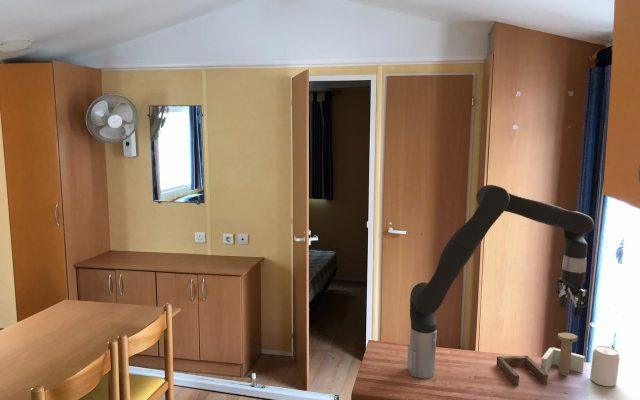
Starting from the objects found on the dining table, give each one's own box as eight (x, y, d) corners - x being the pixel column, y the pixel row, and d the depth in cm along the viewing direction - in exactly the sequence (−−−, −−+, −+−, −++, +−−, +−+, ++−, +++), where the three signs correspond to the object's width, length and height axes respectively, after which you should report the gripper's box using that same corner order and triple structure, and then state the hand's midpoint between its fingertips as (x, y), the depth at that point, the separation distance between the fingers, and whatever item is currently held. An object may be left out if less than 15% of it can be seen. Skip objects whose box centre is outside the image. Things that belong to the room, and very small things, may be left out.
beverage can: (618, 381, 173) (622, 350, 171) (613, 390, 168) (616, 358, 166) (593, 373, 179) (596, 342, 177) (587, 381, 173) (590, 350, 171)
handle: (575, 377, 176) (580, 338, 173) (558, 377, 176) (562, 338, 173) (568, 370, 180) (572, 332, 178) (551, 370, 180) (555, 332, 178)
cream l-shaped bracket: (542, 374, 177) (543, 359, 176) (529, 362, 186) (530, 348, 185) (585, 373, 179) (586, 357, 178) (570, 361, 188) (572, 346, 187)
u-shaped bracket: (514, 385, 170) (515, 375, 169) (496, 365, 184) (497, 356, 183) (547, 383, 171) (547, 374, 171) (526, 364, 185) (527, 355, 184)
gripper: (552, 262, 178) (548, 304, 181) (576, 274, 164) (571, 320, 167) (571, 262, 179) (567, 304, 182) (597, 274, 165) (592, 319, 168)
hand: (569, 311), depth 174 cm, fingers open, 8 cm apart
